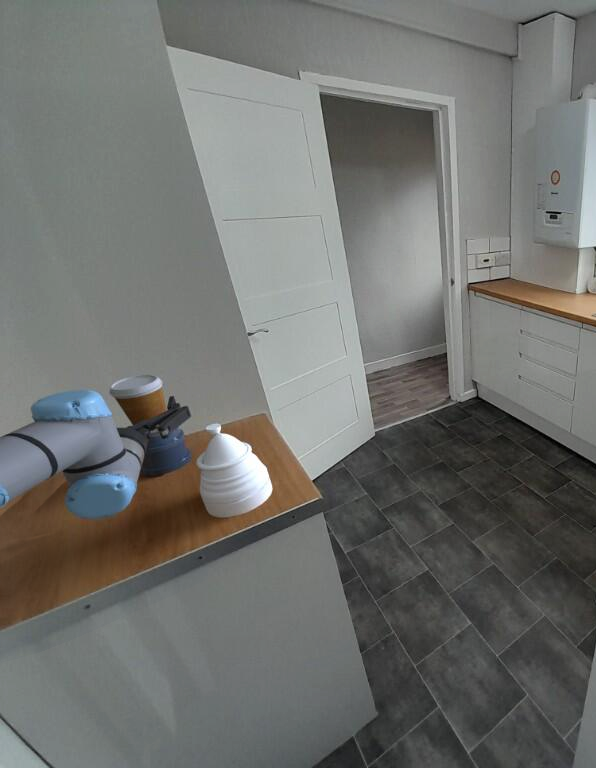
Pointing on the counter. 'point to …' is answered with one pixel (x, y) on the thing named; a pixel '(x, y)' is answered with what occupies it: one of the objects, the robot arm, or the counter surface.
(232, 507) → the honey pot
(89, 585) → the counter surface
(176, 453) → the cup stack
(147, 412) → the disposable coffee cup
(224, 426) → the counter surface
